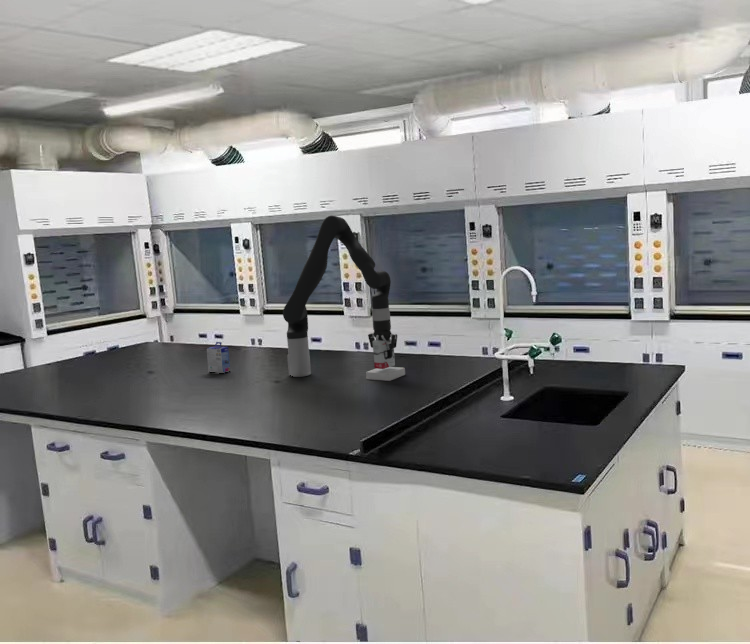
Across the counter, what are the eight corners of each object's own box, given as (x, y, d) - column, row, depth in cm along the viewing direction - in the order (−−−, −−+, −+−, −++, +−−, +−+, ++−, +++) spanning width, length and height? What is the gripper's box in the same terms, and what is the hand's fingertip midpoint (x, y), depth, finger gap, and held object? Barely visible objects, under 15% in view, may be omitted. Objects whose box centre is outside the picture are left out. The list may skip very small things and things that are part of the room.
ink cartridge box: (231, 371, 351) (228, 341, 349) (223, 374, 346) (220, 344, 344) (216, 370, 356) (213, 341, 354) (208, 373, 351) (205, 343, 349)
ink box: (382, 369, 308) (380, 341, 307) (373, 368, 311) (371, 341, 310) (395, 365, 315) (393, 338, 313) (386, 364, 318) (384, 337, 316)
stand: (366, 379, 312) (365, 372, 312) (382, 372, 322) (381, 366, 322) (389, 380, 305) (389, 373, 305) (405, 374, 315) (404, 367, 315)
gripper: (400, 317, 309) (403, 357, 311) (372, 316, 317) (375, 355, 320) (390, 320, 303) (393, 360, 305) (362, 319, 311) (365, 358, 314)
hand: (384, 357), depth 313 cm, fingers closed on ink box, 5 cm apart
